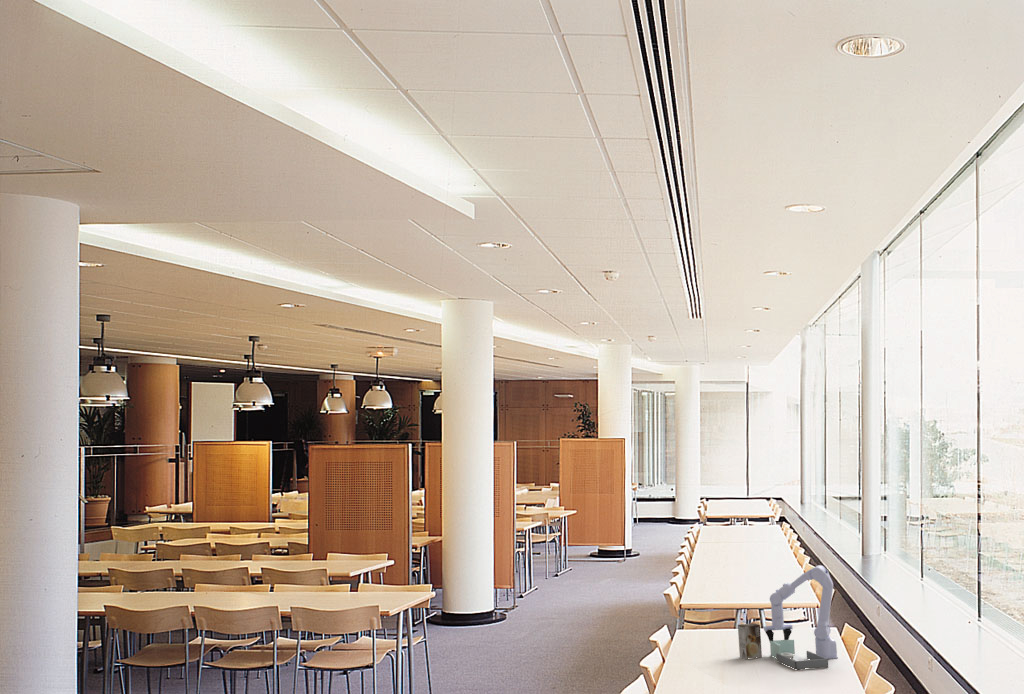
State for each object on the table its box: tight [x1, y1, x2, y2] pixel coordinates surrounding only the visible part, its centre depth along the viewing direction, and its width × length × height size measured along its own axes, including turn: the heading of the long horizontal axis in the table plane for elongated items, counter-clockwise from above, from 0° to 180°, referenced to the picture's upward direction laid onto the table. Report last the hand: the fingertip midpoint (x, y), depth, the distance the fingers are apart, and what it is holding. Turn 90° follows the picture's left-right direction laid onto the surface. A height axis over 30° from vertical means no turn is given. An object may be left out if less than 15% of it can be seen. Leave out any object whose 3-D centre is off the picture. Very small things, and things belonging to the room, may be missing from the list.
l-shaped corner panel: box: [769, 639, 796, 659], centre depth 519 cm, size 12×12×8 cm
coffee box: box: [737, 622, 763, 660], centre depth 522 cm, size 9×6×16 cm
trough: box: [776, 650, 829, 670], centre depth 502 cm, size 17×20×4 cm
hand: (779, 644), depth 526 cm, fingers open, 7 cm apart
